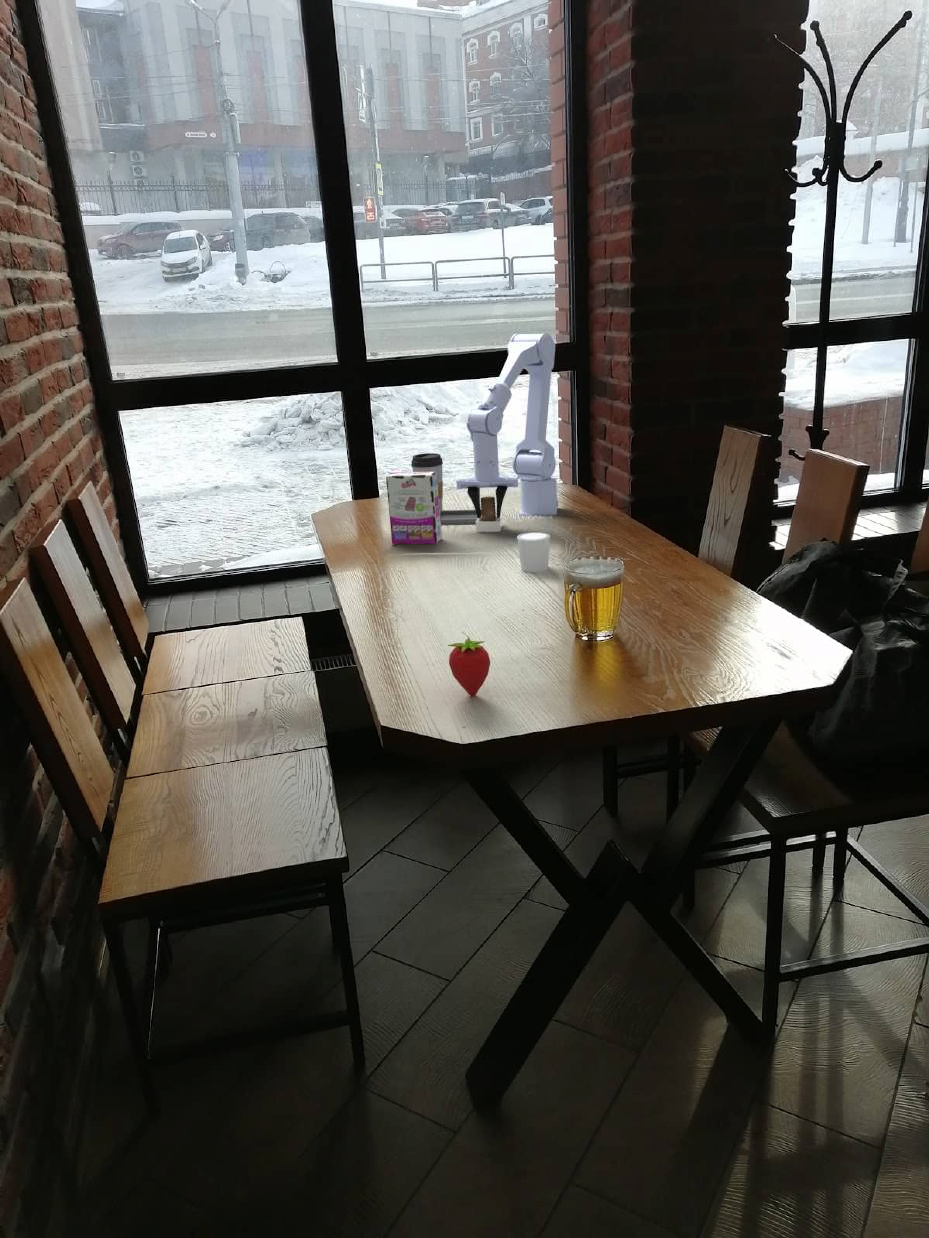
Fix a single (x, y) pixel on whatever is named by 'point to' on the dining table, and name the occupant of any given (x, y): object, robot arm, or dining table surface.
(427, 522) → the candy bar box
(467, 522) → the tray
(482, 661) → the strawberry
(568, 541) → the dining table surface
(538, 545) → the white tapered cylinder
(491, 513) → the dowel
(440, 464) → the coffee cup
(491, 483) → the robot arm
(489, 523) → the white square frame
